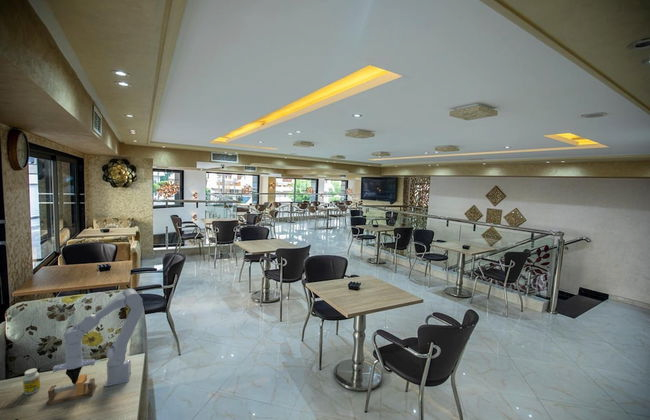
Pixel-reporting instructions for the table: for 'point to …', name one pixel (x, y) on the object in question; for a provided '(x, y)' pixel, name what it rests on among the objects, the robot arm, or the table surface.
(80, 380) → the collar
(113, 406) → the table surface
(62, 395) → the stand
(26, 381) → the supplement bottle
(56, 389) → the rod
